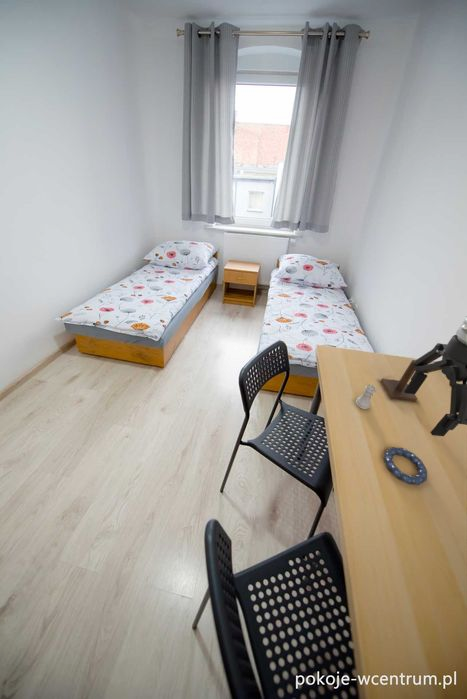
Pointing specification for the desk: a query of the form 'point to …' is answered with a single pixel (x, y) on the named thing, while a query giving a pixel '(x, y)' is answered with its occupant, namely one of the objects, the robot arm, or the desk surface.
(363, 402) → the rook chess piece
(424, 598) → the desk surface
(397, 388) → the stand
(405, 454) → the ring
